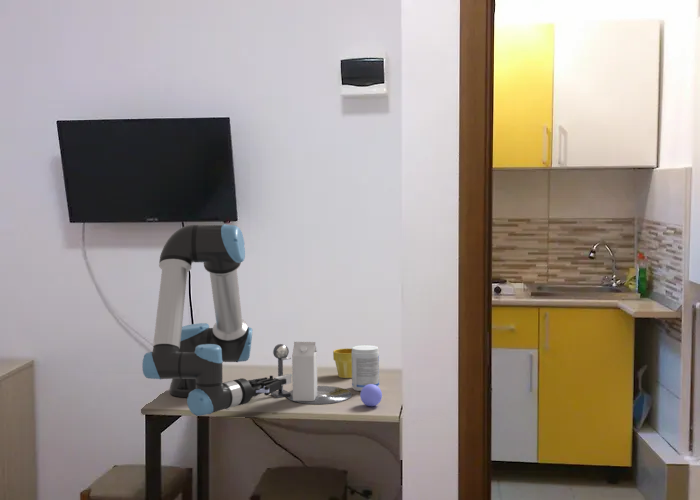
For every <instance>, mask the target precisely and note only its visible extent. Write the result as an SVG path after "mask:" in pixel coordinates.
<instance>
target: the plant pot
mask: <svg viewBox="0 0 700 500" xmlns="http://www.w3.org/2000/svg"><path fill="white" fill-rule="evenodd" d="M332 353H333V355H332V356H333V361H334V362H335V366H336V371H337V375H338V378H341V379H352V348H346V347H345V348H337V349H334V350H333V352H332Z"/></svg>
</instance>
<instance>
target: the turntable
mask: <svg viewBox="0 0 700 500" xmlns="http://www.w3.org/2000/svg"><path fill="white" fill-rule="evenodd" d="M288 392H290V393H291V395H287V397H286V398H287V399H288V400H289V401H292V402H295V403H298V404H304V405H328V404H330V405H331V404H336V403H337V404H338V403H342V402H344V401H347V400H349V399H350V398H351V397H352V395H353V393H352V392H351V391H350V390H348V389H346V388H343V387H339V386H328V385H317V397H316V398H315V400H314V401H293V389H291V390H289V391H288Z"/></svg>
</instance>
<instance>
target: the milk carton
mask: <svg viewBox="0 0 700 500" xmlns="http://www.w3.org/2000/svg"><path fill="white" fill-rule="evenodd" d="M291 356H292V357H291V362H292V363H291V364H292V366H291V369H292V371H291V372H292V374H291V383H292V390H293V401H292V402H294V401H314V400H315V398H316V397H317V386H318V349H317V346H316V341H293V349H292V355H291Z"/></svg>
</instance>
